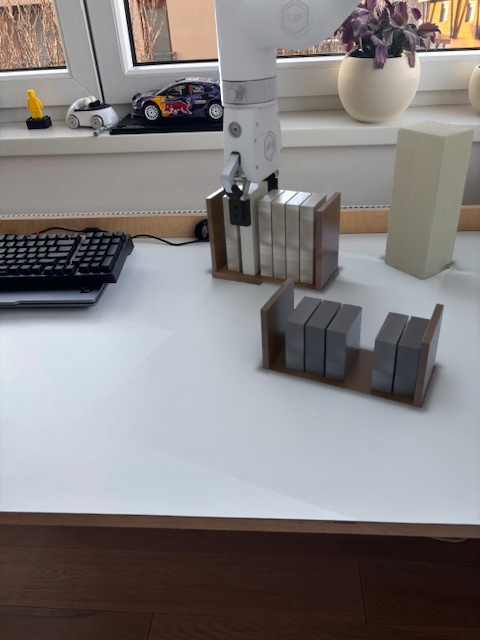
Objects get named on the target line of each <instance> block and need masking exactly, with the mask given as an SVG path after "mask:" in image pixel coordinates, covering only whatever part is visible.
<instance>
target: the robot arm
mask: <svg viewBox="0 0 480 640" xmlns="http://www.w3.org/2000/svg"><path fill="white" fill-rule="evenodd" d="M213 1H214V19H215V29H216V42H217V56H218V57H217V58H218V69H219V82H220V94H221V95H220V96H221V106H222V107H224V108H223V128H222V129H223V130H222V131H223V132H222V133H223V135H222V136H223V138H222V139H223V162H224V167H223V168H222V171H221V172H220V175H219V180H220V182H221V185H222V187H223V190H224V192H225V194H226V198H227V199H228V204H229V217H230V224H231V225H237V226H244V227H249V226H250V225H251V209H250V199H247V196H248V192H249V188H250V184H251V183H252V182H253V183H259V182H261V181H267V183H268V193H269V192H270V191H271V190H272V189H277V190H279V174H280V170H279V169H280V167H282V165H283V144H282V142H283V141H282V130H281V119H280V112H279V106H278V74H277V73H278V71H277V66H278V65H277V49H280V50H289V51H305V50H309V49H313V48H314V47H316V46H317V45H319V44H321V43H322V42H323V41H325V40H328V39H329V37H331V36H332V35H333V34H334V33H335V32H336V31H337V30H338V29H339V28H340V27H341V26H342V24H343V23H344V22H345V21H346V20H347V19H348V18H349V16H350V15H351V14H352V13H353V12H354V11H355V10H356V8H357V7H358V6H359V5H360V4H361V2H362V1H363V0H213ZM238 184H241V186H242V190H241V189H240V188H239V187H238V186H239V185H238Z"/></svg>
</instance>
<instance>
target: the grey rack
mask: <svg viewBox="0 0 480 640" xmlns="http://www.w3.org/2000/svg"><path fill="white" fill-rule="evenodd" d="M444 309H445V304H442V303H436V304H435V306H434V309H433V311H432V314H431V317H430V318H425V317H419V316H415V315H411V316H410V315H409V314H404V313H398V312H393V311H388V313H387V315H386V317H385V319H384V321H383V323H382V325H381V327H380V329H379V331H378V333H377V335H376V337H375V338H374V344H373V345H374V346H373V351H372V350H367V349H362V348H360V347H361V333H362V317H363V306H359V305H354V304H349V303H342V302H338V301H333V300H328V299H322V298H317V297H311V296H305V295H304V296H303V297H302V298H301V300H300V301H299V302H298V304H297V305H295V286H294V279H292V278H288V279H287V280H286V281H285V282H284V283H283V284H280V287H278V289H277V290H276V291H275V292H273V294H272V296H270V298H269V299H268V300H267V301H266V302H265V303H264V305H262V307H261V308H260V310H259V313H260V335H261V354H262V357H261V358H262V366H261V369H265V370H268V371H272V372H275V373H280V374H285V375H288V376H293V377H296V378H300V379H303V380H308V381H312V382H316V383H319V384H324V385H328V386H332V387H336V388H338V389H339V388H340V389H344V390H347V391H352V392H356V393H359V394H364V395H367V396H372V397H376V398H378V399H379V398H380V399H384V400H388V401H392V402H395V403H398V404H399V403H400V404H404V405H408V406H412V407H415V408H419V409H423V408H424V405H425V402H426V398H427V396H428V393H429V389H430V386H431V383H432V380H433V377H434V374H435V370H436V368H437V365H436V358H437V352H438V347H439V340H440V334H441V327H442V321H443V315H444Z"/></svg>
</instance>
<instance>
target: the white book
mask: <svg viewBox="0 0 480 640" xmlns="http://www.w3.org/2000/svg"><path fill="white" fill-rule="evenodd" d="M267 193H268V183H267V181H261V182H259V183H253V182H252V181H251V184H250V188H249V192H248V196H247V199H250V209H251V225H250V226H249V227H244V226H240V233H241V249H242V264H243V274H249V275H255V274H256V273H257V272H258V271H259V270H260V269H261V262H260V240H259V218H258V200H259V199H261V198H262V197H263V196H265V195H266V194H267Z"/></svg>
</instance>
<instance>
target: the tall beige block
mask: <svg viewBox="0 0 480 640" xmlns="http://www.w3.org/2000/svg"><path fill="white" fill-rule="evenodd" d="M474 135H475V129H474V128H471V127H468V126H467V127H466V126H463V125H456V124H451V123H447V122H446V123H445V122H439V121H436V120H423V121H420V122H415V123H412V124H408V125H404V126H399V128H398V129H397V136H396V143H395V144H396V145H395V146H396V147H395V154H394V165H393V176H392V183H391V186H392V187H391V193H390V204H389V213H388V222H387V231H386V232H387V233H386V242H385V250H384V251H385V253H384V263H385V264H386V265H389V266H391V267H393V268H394V269H397V270H400V271H402V272H404V273H406V274H409V275H410V276H412V277H415V278H418V279H420V280H426V279H428V278H431V277H432V276H435V275H438V274H440V273H442V272H443V271H446V270H448V269H450V268H451V267H450V266H447V265H449V264H452V261H453V257H454V250H455V244H456V238H457V234H458V233H457V232H458V228H459V220H460V216H461V210H462V203H463V197H464V193H465V186H466V180H467V175H468V170H469V164H470V158H471V152H472V147H473V143H474V142H473V141H474Z"/></svg>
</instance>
